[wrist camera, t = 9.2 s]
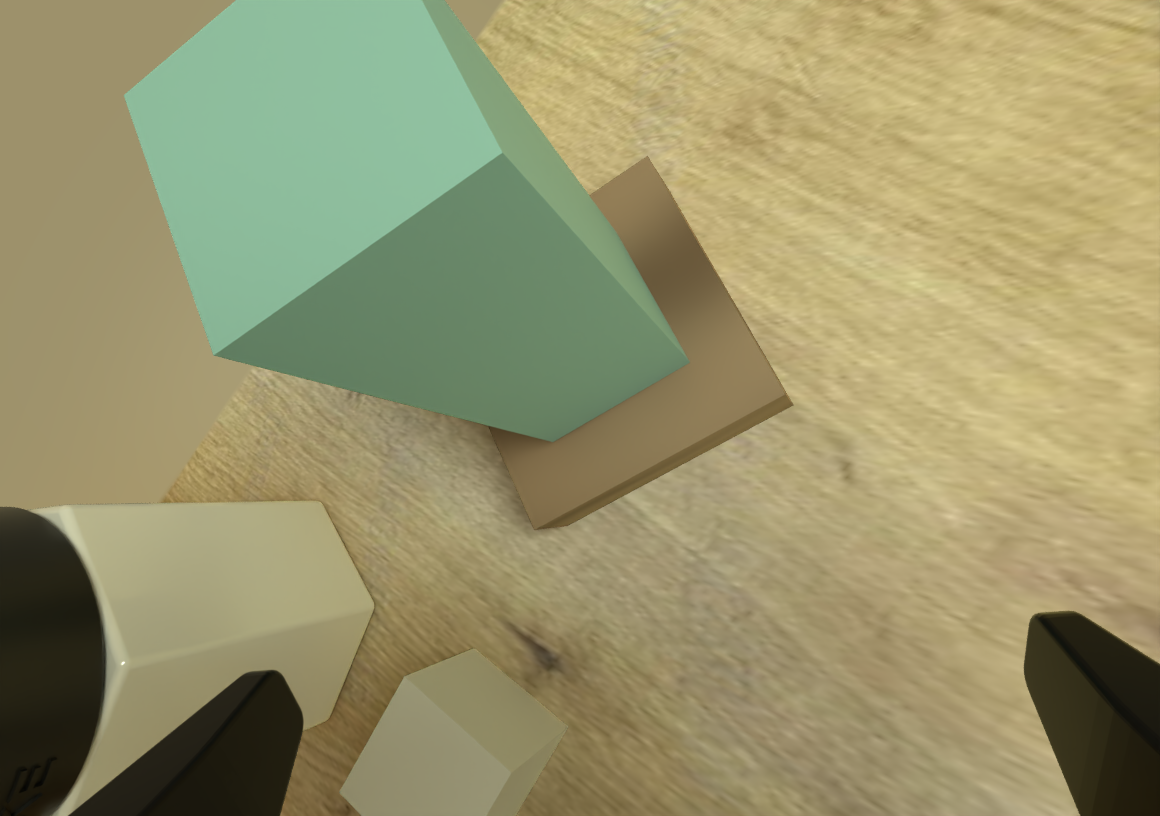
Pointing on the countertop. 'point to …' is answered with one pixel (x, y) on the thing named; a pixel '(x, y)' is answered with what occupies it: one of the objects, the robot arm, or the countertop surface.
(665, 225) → the walnut block
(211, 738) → the robot arm
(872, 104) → the countertop surface
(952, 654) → the countertop surface
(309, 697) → the jar
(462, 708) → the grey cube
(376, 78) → the teal block
